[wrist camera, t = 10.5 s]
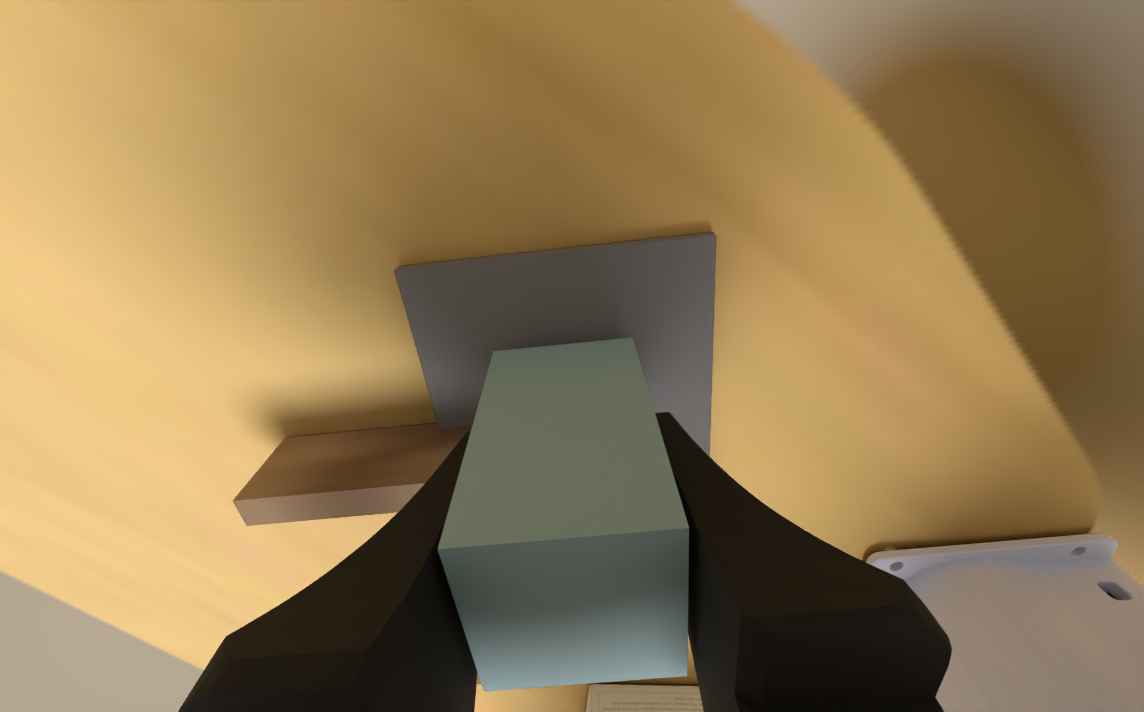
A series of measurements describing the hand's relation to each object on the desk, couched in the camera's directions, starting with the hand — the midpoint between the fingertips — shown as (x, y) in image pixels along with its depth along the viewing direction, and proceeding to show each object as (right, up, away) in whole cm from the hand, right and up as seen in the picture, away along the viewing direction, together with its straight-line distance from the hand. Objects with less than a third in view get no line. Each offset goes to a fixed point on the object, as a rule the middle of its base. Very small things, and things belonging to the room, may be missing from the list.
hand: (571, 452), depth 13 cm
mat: (0, +2, +3) cm, 3 cm away
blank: (0, +1, +2) cm, 2 cm away
